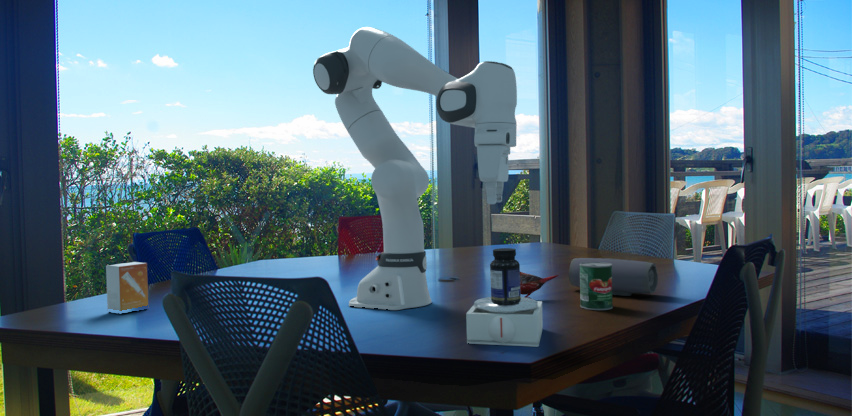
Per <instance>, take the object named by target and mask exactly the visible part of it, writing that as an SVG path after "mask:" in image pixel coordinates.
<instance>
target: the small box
mask: <svg viewBox="0 0 852 416" xmlns="http://www.w3.org/2000/svg"><path fill="white" fill-rule="evenodd" d="M105 276H106V300H107V301H106V302H107V310H108V309H113V310H119V311H122V310H127V309H132V308H138V307H142V306H147V305H148V306H149V287H148V286H149V285H148V283H149V282H148V263H147V262H139V261H132V262H125V263H123V262H122V263H116V264H110V265H108V264H107V265H105Z"/></svg>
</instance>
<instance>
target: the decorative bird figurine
mask: <svg viewBox="0 0 852 416" xmlns="http://www.w3.org/2000/svg"><path fill="white" fill-rule="evenodd" d="M557 277H559V275H558V274H556V275H551V276H548V277H541V276H537V275H535V274H530V273H525V272H523V271H520V293H521V295H523V296H524V295H525V296H524V297H525V298H530V299H533V298H532V297H530V296H531V295H532V294H533V293H534V292H537V291H539V290H540V289H541V288H542V287H543V286H544V285H545V284H546V283H547V282H549V281H551V280H553V279H555V278H557Z"/></svg>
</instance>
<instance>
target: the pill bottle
mask: <svg viewBox="0 0 852 416" xmlns="http://www.w3.org/2000/svg"><path fill="white" fill-rule="evenodd" d="M516 255H517V249H516V248H512V247H511V248H510V247H504V248H503V247H502V248H500V247H499V248H494V249H492V256H493V257H494V259H493V260H492V261H490V264H489V269H490V271H489V273H490V297H491V301H492V302H493V303H496V304H516V303H519V302H520V300H521V297H522V296H521V295H522V294H521V293H520V272H521V270H520V269H521V268H520V262H519V261H518V260H517V259H516Z"/></svg>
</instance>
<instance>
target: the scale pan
mask: <svg viewBox="0 0 852 416" xmlns="http://www.w3.org/2000/svg"><path fill="white" fill-rule="evenodd" d="M530 298H531V297H530ZM530 298H525V296H524V297H523V296H521V300H520V302H519V303H516V304H496V303H493V302H492V301H491V296H488V297H482V298H479V299H476V300H474V303H473V305H474V307H475V308H476V309H478V310H482V311H486V312H495V313H500V314H513V313H518V312H526V311H531V310H534V309H536V308H537V307H538V303H537V301H538V300H536V299H533V298H532V299H530Z"/></svg>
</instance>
